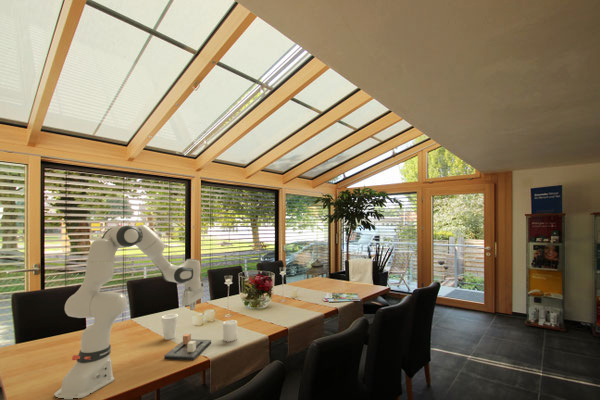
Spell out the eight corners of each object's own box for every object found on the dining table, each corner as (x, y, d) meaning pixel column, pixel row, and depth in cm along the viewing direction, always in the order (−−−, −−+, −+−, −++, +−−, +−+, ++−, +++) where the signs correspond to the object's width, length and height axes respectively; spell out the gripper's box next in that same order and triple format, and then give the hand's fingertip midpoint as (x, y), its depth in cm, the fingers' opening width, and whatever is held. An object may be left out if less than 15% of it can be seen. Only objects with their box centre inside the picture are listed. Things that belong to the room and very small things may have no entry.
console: (193, 360, 157) (193, 356, 157) (164, 359, 159) (164, 355, 159) (211, 343, 178) (211, 339, 179) (185, 342, 180) (185, 339, 181)
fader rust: (187, 345, 172) (187, 336, 173) (182, 345, 173) (182, 336, 173) (190, 343, 176) (190, 333, 176) (185, 343, 176) (185, 333, 176)
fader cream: (192, 353, 161) (192, 343, 162) (187, 353, 162) (187, 343, 162) (195, 351, 165) (195, 341, 165) (190, 350, 165) (190, 340, 165)
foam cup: (157, 339, 186) (158, 317, 187) (168, 334, 195) (168, 313, 196) (170, 341, 183) (171, 319, 184) (181, 335, 192) (181, 314, 193)
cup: (224, 342, 179) (224, 325, 180) (221, 336, 190) (221, 319, 191) (238, 340, 182) (238, 323, 183) (234, 333, 193) (234, 317, 194)
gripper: (189, 289, 172) (189, 314, 171) (205, 282, 193) (204, 305, 192) (178, 289, 173) (178, 314, 172) (195, 282, 193) (195, 304, 192)
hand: (192, 309), depth 182 cm, fingers closed
